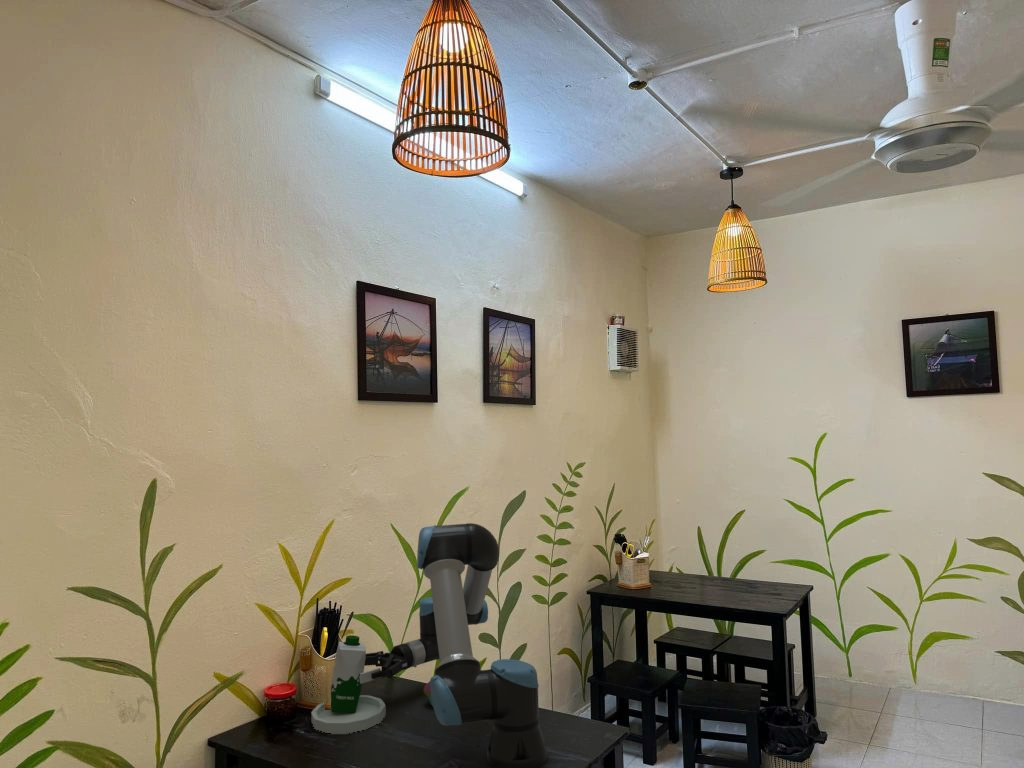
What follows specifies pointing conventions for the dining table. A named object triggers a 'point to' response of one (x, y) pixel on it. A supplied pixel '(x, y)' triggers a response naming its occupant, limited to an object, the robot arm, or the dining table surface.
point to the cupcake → (428, 692)
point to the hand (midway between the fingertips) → (347, 673)
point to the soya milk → (347, 675)
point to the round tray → (349, 717)
